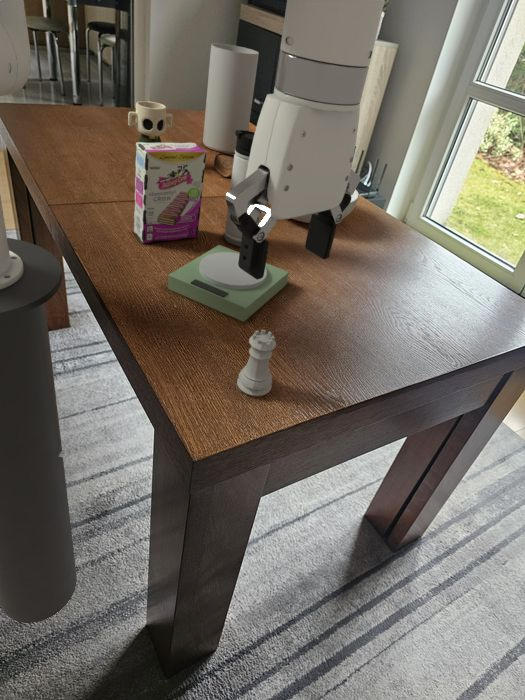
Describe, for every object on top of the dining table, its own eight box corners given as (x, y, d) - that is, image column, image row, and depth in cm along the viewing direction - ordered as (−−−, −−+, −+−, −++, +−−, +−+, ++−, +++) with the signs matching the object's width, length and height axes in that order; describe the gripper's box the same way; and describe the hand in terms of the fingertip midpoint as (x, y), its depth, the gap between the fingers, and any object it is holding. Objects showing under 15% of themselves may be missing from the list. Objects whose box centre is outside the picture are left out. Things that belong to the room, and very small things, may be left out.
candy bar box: (143, 245, 90) (145, 151, 80) (133, 233, 93) (133, 141, 84) (199, 238, 96) (207, 150, 86) (188, 227, 99) (194, 141, 89)
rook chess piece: (268, 402, 62) (279, 350, 58) (233, 393, 63) (241, 342, 58) (273, 379, 66) (284, 329, 61) (240, 372, 66) (248, 321, 61)
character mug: (131, 165, 122) (132, 107, 114) (124, 155, 127) (124, 99, 119) (175, 165, 127) (178, 110, 119) (166, 156, 132) (168, 102, 124)
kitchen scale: (243, 322, 76) (246, 303, 74) (167, 288, 80) (168, 270, 78) (286, 284, 87) (290, 267, 85) (217, 257, 91) (219, 240, 89)
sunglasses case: (225, 176, 124) (223, 148, 123) (215, 182, 131) (212, 155, 130) (289, 177, 132) (287, 150, 131) (276, 182, 138) (274, 156, 137)
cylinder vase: (193, 144, 144) (201, 43, 129) (219, 138, 153) (229, 43, 138) (229, 156, 140) (241, 54, 125) (253, 150, 149) (267, 53, 134)
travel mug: (218, 233, 99) (230, 126, 87) (249, 232, 102) (265, 128, 90) (228, 248, 95) (242, 137, 83) (260, 247, 97) (279, 139, 85)
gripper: (350, 74, 50) (314, 234, 60) (212, 70, 40) (196, 264, 50) (412, 93, 46) (363, 261, 56) (276, 94, 36) (245, 300, 46)
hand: (285, 262), depth 53 cm, fingers open, 9 cm apart
